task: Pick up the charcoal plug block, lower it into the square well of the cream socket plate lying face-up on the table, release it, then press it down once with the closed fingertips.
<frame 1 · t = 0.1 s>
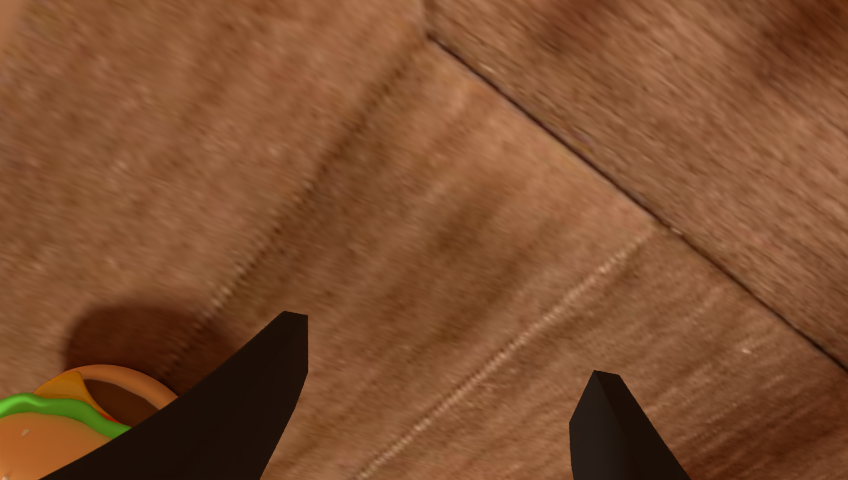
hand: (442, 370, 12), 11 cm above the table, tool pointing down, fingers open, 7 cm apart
hamburger: (134, 421, 29), on the table
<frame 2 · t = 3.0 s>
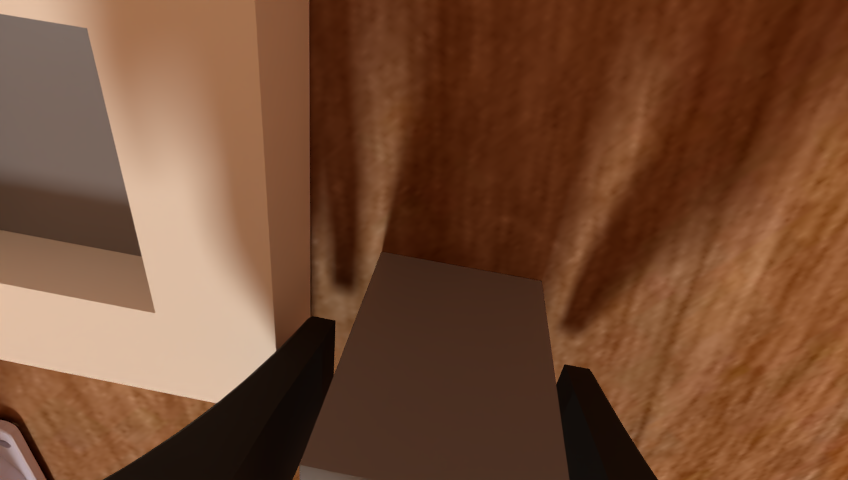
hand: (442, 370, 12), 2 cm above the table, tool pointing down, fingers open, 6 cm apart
socket: (72, 131, 11), on the table
plug: (448, 325, 13), on the table
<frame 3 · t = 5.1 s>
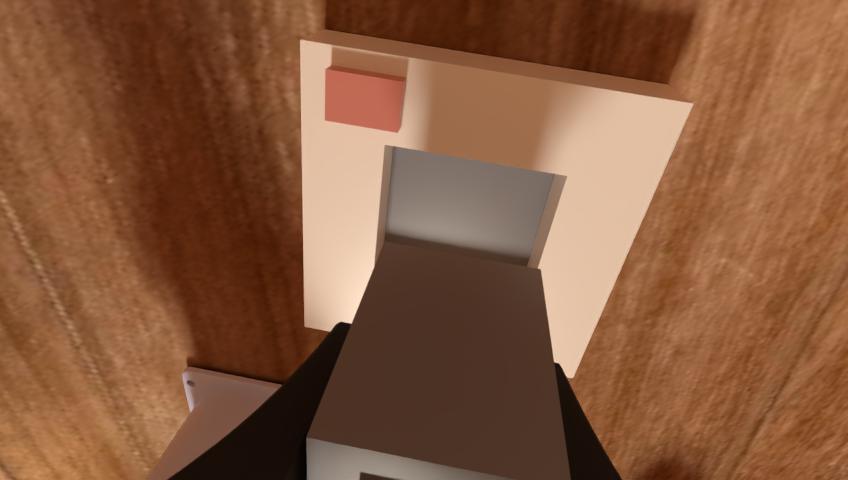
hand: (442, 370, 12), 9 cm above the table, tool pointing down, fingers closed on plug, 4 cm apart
socket: (463, 207, 19), on the table
plug: (449, 315, 13), point 7 cm above the table, touching gripper
when the fingers open (3 cm above the table, at t = 6.9 s): plug stays where it is, resting on socket.
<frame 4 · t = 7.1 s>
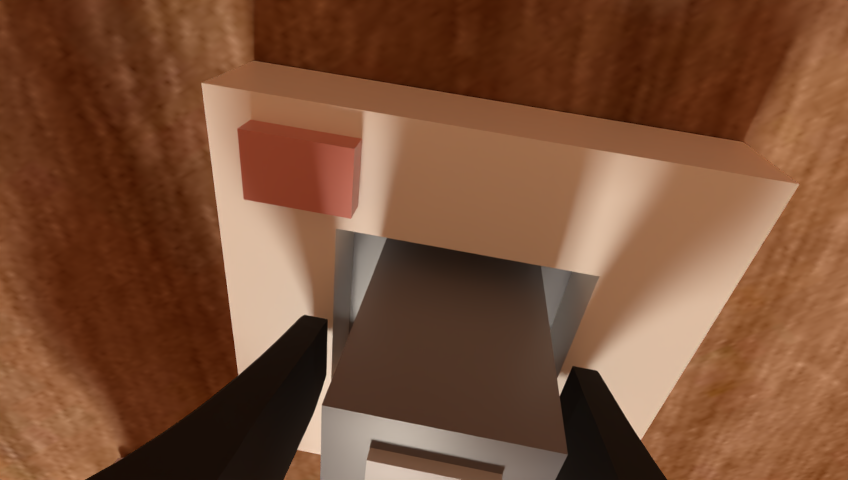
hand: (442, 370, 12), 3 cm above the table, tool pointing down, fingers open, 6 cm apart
socket: (452, 292, 14), on the table
plug: (452, 300, 14), resting on socket
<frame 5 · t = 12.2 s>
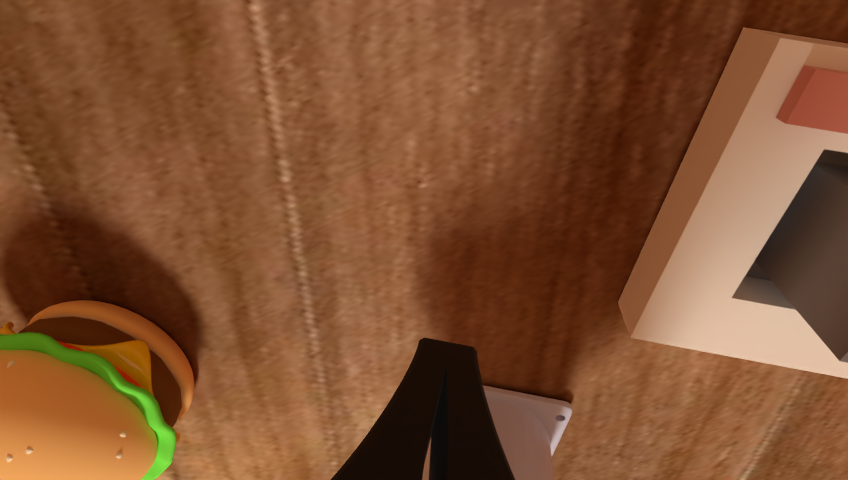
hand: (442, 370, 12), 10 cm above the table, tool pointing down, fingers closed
socket: (822, 214, 18), on the table
plug: (831, 219, 18), resting on socket
hamburger: (126, 353, 29), on the table
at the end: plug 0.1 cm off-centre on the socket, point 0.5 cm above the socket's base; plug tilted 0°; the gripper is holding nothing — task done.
